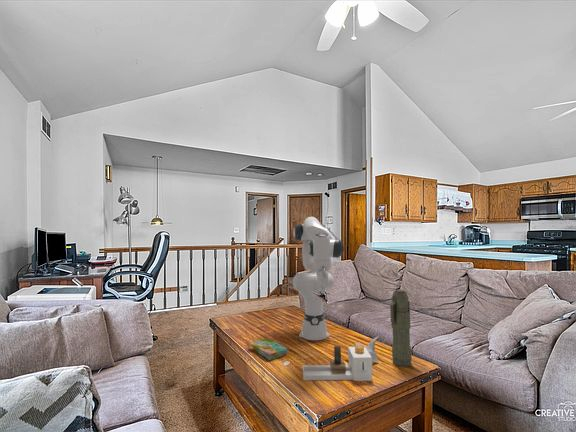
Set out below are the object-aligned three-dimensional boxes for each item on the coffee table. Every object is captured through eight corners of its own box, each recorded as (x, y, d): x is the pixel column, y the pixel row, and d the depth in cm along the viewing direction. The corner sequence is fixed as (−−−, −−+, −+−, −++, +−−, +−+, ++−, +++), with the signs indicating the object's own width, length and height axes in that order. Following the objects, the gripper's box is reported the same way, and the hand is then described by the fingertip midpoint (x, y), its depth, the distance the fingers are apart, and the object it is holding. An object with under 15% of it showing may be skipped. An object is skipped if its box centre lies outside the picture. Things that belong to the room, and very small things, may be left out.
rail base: (302, 368, 145) (302, 347, 146) (365, 368, 145) (365, 346, 145) (303, 382, 132) (303, 358, 133) (372, 381, 132) (372, 358, 133)
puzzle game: (268, 352, 154) (249, 341, 170) (268, 362, 154) (249, 349, 170) (287, 347, 161) (267, 336, 177) (287, 356, 160) (267, 344, 177)
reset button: (354, 349, 142) (354, 345, 142) (362, 349, 141) (362, 345, 142) (356, 353, 138) (355, 348, 138) (364, 353, 137) (364, 348, 138)
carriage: (330, 365, 143) (329, 344, 143) (343, 365, 143) (342, 344, 143) (332, 372, 136) (331, 350, 136) (345, 372, 136) (345, 350, 136)
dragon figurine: (352, 351, 167) (350, 334, 166) (381, 352, 161) (379, 335, 160) (347, 365, 153) (344, 347, 153) (378, 367, 147) (376, 348, 147)
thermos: (386, 363, 150) (384, 291, 152) (401, 357, 157) (399, 288, 158) (402, 369, 143) (400, 294, 144) (417, 363, 150) (414, 291, 151)
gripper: (331, 268, 144) (331, 297, 143) (326, 263, 164) (326, 289, 164) (317, 268, 144) (318, 297, 143) (314, 263, 164) (314, 289, 164)
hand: (322, 293), depth 154 cm, fingers closed
